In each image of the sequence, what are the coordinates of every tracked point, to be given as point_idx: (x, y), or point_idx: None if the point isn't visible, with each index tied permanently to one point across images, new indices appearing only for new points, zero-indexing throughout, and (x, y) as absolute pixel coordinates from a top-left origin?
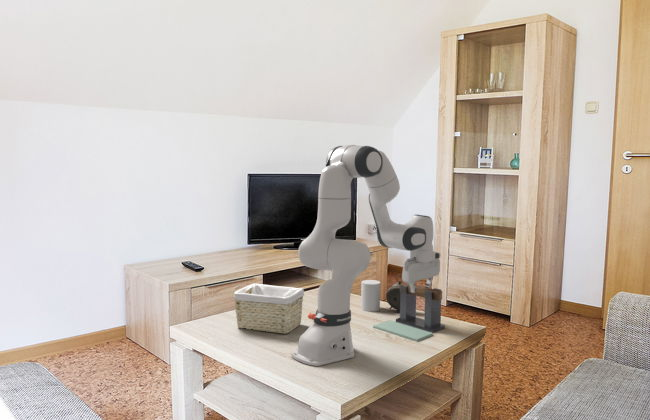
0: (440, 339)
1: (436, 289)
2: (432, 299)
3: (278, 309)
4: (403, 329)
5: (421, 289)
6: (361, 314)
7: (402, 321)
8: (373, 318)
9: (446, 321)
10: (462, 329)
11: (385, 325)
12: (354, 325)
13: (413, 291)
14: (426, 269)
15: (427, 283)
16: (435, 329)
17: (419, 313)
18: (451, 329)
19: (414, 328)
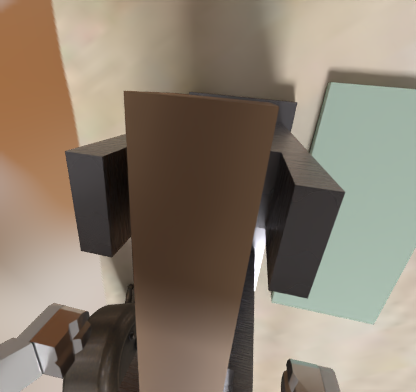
0: (378, 5)
1: (108, 215)
2: (293, 156)
3: None
4: (356, 220)
5: (230, 348)
6: (254, 378)
7: (260, 262)
8: (268, 344)
9: (111, 135)
10: (147, 7)
11: (345, 293)
12: (379, 366)
13: (335, 386)
14: None
15: (45, 363)
16: (272, 100)
17: (114, 255)
18: (186, 55)
19: None
